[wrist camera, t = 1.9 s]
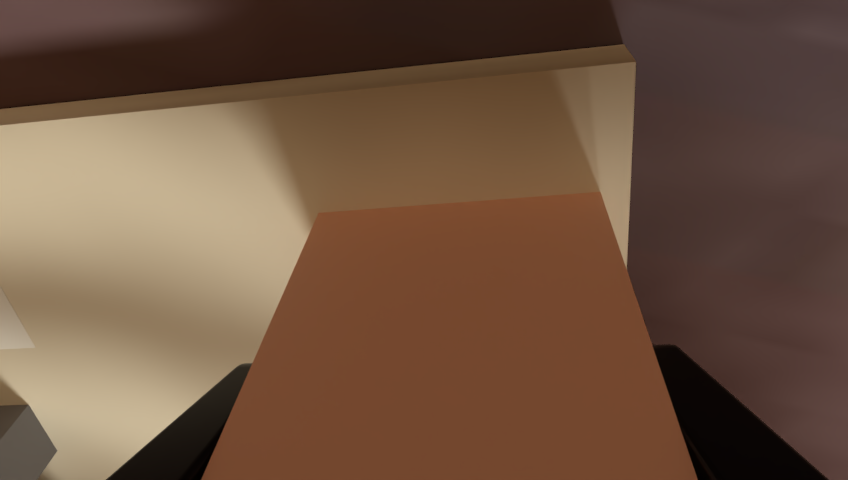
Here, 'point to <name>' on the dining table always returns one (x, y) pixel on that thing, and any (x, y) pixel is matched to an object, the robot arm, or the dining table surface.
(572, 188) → the domino board
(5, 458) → the domino
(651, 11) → the dining table surface
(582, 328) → the end tile
